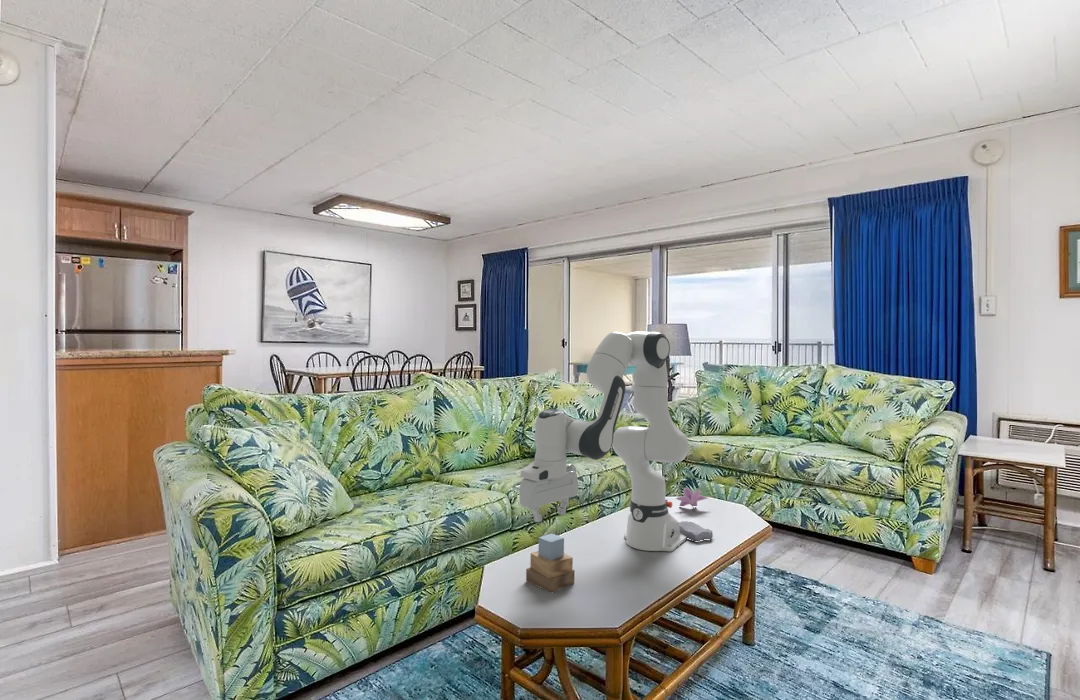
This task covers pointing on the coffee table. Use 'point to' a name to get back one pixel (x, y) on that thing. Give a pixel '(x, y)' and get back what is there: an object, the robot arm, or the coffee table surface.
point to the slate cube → (551, 546)
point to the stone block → (694, 531)
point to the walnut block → (549, 580)
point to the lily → (690, 497)
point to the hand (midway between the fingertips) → (550, 517)
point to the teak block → (551, 565)
